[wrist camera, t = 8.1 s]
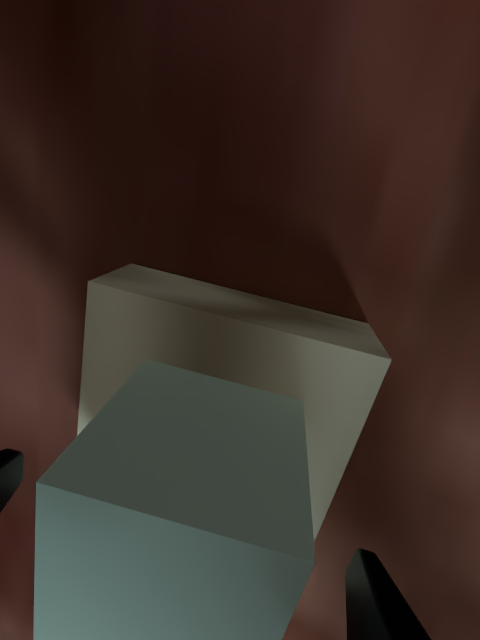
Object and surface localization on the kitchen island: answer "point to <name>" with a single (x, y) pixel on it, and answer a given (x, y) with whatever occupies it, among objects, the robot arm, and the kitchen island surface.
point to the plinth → (237, 356)
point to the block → (176, 515)
